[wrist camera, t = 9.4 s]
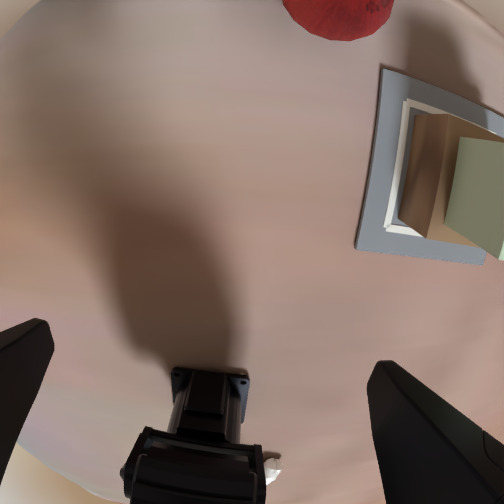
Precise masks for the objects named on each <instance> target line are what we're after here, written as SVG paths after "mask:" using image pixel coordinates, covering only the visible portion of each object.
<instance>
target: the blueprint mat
mask: <svg viewBox="0 0 504 504" xmlns="http://www.w3.org/2000/svg"><path fill="white" fill-rule="evenodd" d="M423 114H450V115H453V116H455V117H458V118H460V119H463V120H465V121H468V122H470V123H472V124H475V125H477V126H479V127H481V128H483V129H486V130H488V131H490V132H492V133H494V134H496V135H498V136H500V137H502V138H504V118H503V117H501V116H499V115H497V114H496V113H494V112H492V111H490V110H488V109H486V108H484V107H482V106H480V105H478V104H476V103H473V102H471V101H469V100H467V99H465V98H463V97H460V96H458V95H456V94H453V93H451V92H449V91H446V90H444V89H441V88H439V87H436V86H434V85H431V84H429V83H426V82H423V81H420V80H418V79H415V78H412V77H409V76H406V75H403V74H400V73H397V72H394V71H390V70H387V69H384V68H383V69H381V79H380V91H379V101H378V110H377V119H376V127H375V135H374V143H373V150H372V156H371V163H370V169H369V175H368V181H367V187H366V193H365V198H364V204H363V209H362V214H361V219H360V224H359V229H358V234H357V238H356V243H355V247H354V248H355V249H356V250H360V251H369V252H378V253H386V254H394V255H403V256H411V257H419V258H427V259H435V260H444V261H451V262H459V263H467V264H475V265H483V263H484V259H485V256H486V253H487V251H485V250H484V249H482V248H478V247H472V246H467V245H461V244H455V243H449V242H443V241H436V240H430V239H426V238H424V237H423V236H421V235H420V234H419V233H417V232H416V231H415V230H413V229H412V228H410V227H409V226H407V225H406V224H405V223H403V222H402V221H400V220H399V219H398V214H399V210H400V205H401V200H402V195H403V190H404V185H405V179H406V173H407V168H408V161H409V155H410V148H411V141H412V134H413V125H414V117H415V115H423Z"/></svg>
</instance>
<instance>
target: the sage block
mask: <svg viewBox="0 0 504 504" xmlns="http://www.w3.org/2000/svg"><path fill="white" fill-rule="evenodd" d="M444 225H445V226H447V227H449V228H450V229H452V230H454V231H455V232H457V233H459V234H460V235H462V236H463V237H465V238H467V239H468V240H470V241H471V242H473V243H474V244H476V245H478V246H479V247H481V248H482V249H484V250H485V251H487V252H488V253H490V254H491V255H493V256H494V257H495V258H497V259H499V260H504V143H502V142H496V141H489V140H482V139H475V138H467V137H460V140H459V147H458V154H457V161H456V167H455V173H454V179H453V184H452V189H451V194H450V199H449V204H448V208H447V213H446V217H445V221H444Z"/></svg>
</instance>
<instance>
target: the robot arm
mask: <svg viewBox="0 0 504 504" xmlns="http://www.w3.org/2000/svg"><path fill="white" fill-rule="evenodd" d="M53 352H54V341H53V338H52V334H51V331H50V327H49V324H48V323H47V321H45V320H42V319H38V318H33V319H31V320H28V321H26V322H24V323H21V324H19V325H16V326H14V327H11V328H9V329H7V330H4V331H2V332H0V485H1V482H2V479H3V476H4V473H5V470H6V467H7V464H8V462H9V459H10V456H11V454H12V451H13V449H14V446H15V443H16V441H17V439H18V436H19V434H20V431H21V429H22V427H23V424H24V422H25V420H26V418H27V415H28V413H29V411H30V409H31V407H32V404H33V402H34V400H35V398H36V396H37V394H38V391H39V389H40V386H41V383H42V381H43V378H44V375H45V373H46V370H47V367H48V365H49V362H50V360H51V357H52V355H53ZM178 373H179V374H178ZM171 380H172V391H173V401H174V407H173V411H172V414H171V418H170V422H169V426H168V430H167V432H164V431H160V430H155V429H153V428H152V427H147V426H145V428H144V430H143V432H142V433H140V435H139V437H138V439H137V441H136V443H135V445H134V447H133V449H132V451H131V453H130V455H129V457H128V459H127V461H126V463H125V464H124V466H123V467H122V468H121V470H120V476H121V478H122V479H123V481H124V494H125V497H126V498H129V499H130V504H265V500H266V477H265V470H264V462H263V454H262V446H261V445H257V444H254V445H245V444H240V428H241V424H242V423H243V422H244V416H245V410H246V403H247V396H248V390H249V383H250V379H249V377H248V376H245V375H236V374H226V373H217V372H208V371H200V370H193V369H186V368H179V367H175V368H173V369H172V372H171ZM367 396H368V404H369V411H370V420H371V429H372V436H373V441H374V446H375V451H376V455H377V460H378V464H379V469H380V474H381V479H382V484H383V489H384V494H385V499H386V504H504V445H503V444H502V443H501V442H499V441H498V440H496V439H495V438H494V437H492V436H491V435H490V434H488V433H487V432H486V431H485V430H483V431H482V428H481V427H479V426H478V425H477V424H475V423H474V422H473V421H471V420H470V419H469V418H467V417H466V416H465V415H463V414H462V413H461V412H460V411H458V410H457V409H456V408H454V407H453V406H452V405H450V404H449V403H448V402H446V401H445V400H444V399H443V398H441V397H440V396H439V395H437V394H436V393H435V392H433V391H432V390H431V389H429V388H428V387H427V386H425V385H424V384H423V383H422V382H420V381H419V380H418V379H416V378H415V377H414V376H412V375H411V374H410V373H408V372H407V371H406V370H405V369H403V368H402V367H401V366H399V365H398V364H397V363H395V362H394V361H392V360H380V361H378V362H377V363H376V365H375V367H374V369H373V372H372V374H371V376H370V378H369V380H368V383H367Z"/></svg>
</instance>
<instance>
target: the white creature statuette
mask: <svg viewBox="0 0 504 504" xmlns="http://www.w3.org/2000/svg"><path fill="white" fill-rule="evenodd" d="M282 469H283V464H282V462H281V461H280V460H279V459H274V458H270V459H267V460H266V461H265V462H264V470H265V477H266V486H267V485H268V484H269V483H270V482H272V481H274V480H275V479H276V477H277V475H278V474H279V473H280V472H281V470H282Z"/></svg>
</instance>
